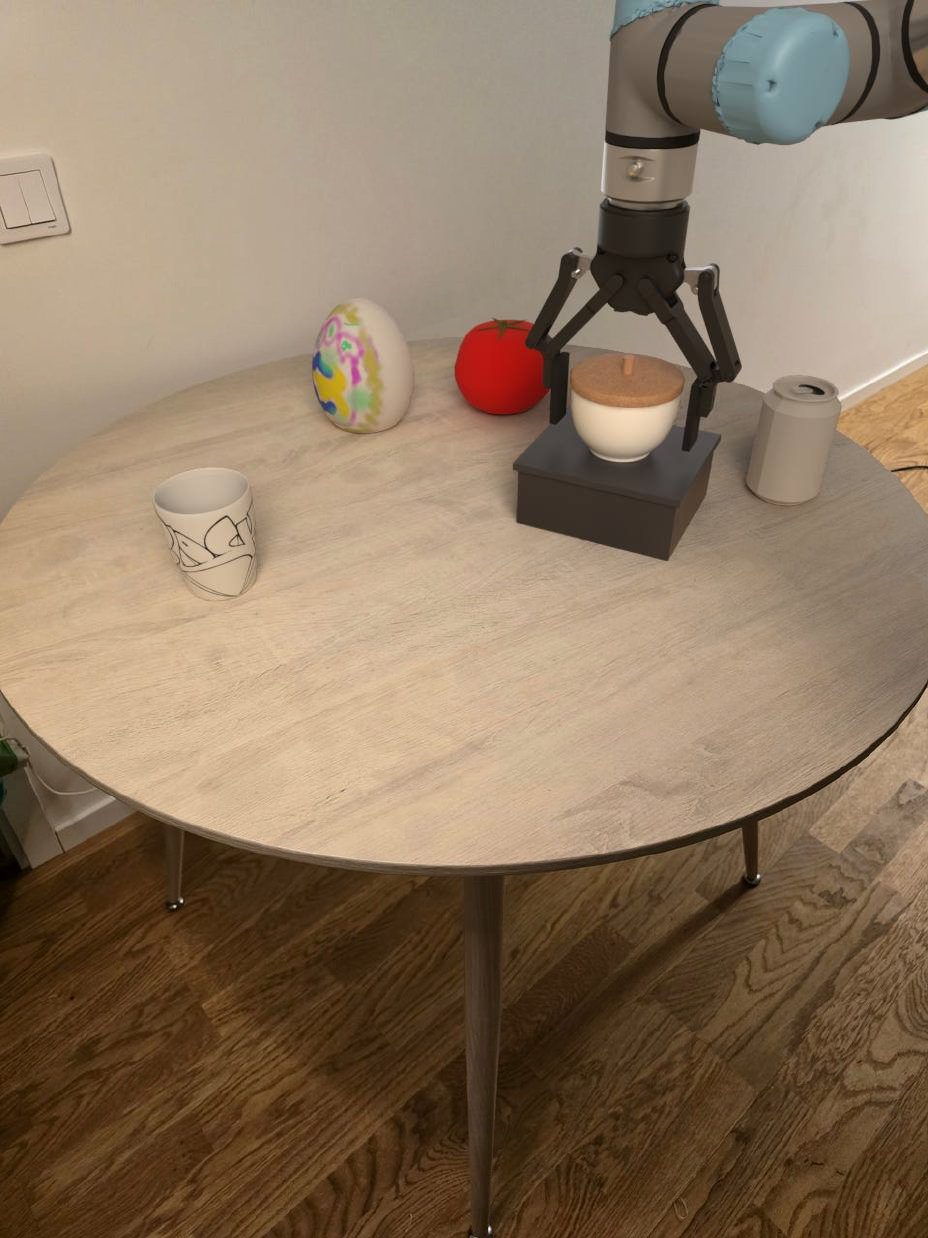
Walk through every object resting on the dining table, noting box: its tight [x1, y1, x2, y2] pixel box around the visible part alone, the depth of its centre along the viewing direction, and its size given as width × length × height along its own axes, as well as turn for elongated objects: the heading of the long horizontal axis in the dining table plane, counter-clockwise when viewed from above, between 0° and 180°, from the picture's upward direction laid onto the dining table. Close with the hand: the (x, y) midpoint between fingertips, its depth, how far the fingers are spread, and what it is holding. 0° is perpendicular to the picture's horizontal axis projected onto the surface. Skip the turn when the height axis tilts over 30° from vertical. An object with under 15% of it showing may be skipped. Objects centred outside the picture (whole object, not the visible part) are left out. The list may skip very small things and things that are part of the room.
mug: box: [151, 466, 258, 602], centre depth 80 cm, size 11×8×10 cm
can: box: [746, 374, 843, 507], centre depth 89 cm, size 8×8×12 cm
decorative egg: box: [311, 296, 415, 435], centre depth 104 cm, size 12×12×15 cm
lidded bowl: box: [569, 352, 686, 462], centre depth 84 cm, size 11×11×9 cm
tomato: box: [454, 317, 551, 415], centre depth 108 cm, size 12×13×11 cm
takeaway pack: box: [512, 404, 722, 562], centre depth 89 cm, size 17×15×7 cm
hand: (621, 432), depth 85 cm, fingers open, 13 cm apart
